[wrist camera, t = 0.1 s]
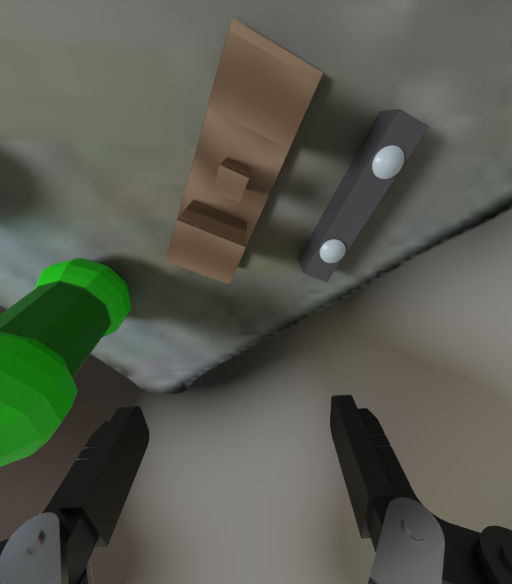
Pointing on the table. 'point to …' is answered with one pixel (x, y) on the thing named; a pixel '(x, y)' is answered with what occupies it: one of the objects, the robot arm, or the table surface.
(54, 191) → the table surface
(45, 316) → the plastic bottle
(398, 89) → the table surface
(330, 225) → the grey bar with knobs
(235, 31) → the display stand
